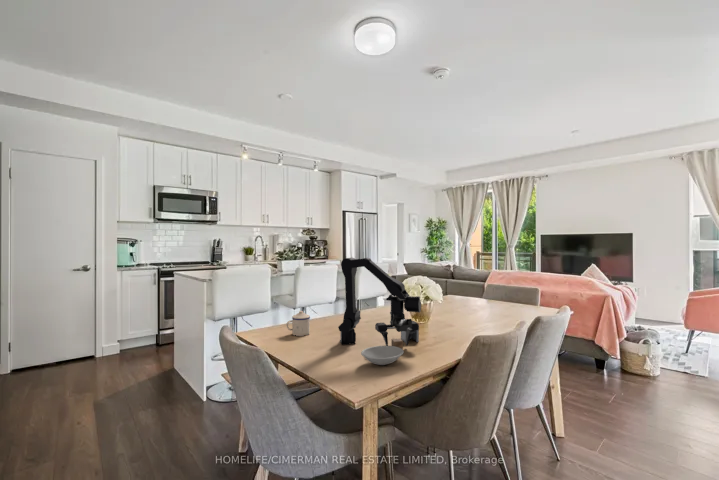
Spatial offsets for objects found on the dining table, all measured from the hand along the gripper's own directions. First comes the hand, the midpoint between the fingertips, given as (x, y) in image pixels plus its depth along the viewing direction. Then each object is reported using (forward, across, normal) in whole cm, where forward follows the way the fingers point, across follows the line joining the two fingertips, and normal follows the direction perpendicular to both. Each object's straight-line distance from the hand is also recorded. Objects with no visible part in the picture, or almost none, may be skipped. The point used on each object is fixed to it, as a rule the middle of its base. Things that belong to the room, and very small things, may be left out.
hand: (397, 345), depth 153 cm
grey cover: (+1, +10, +11) cm, 15 cm away
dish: (+2, -12, -17) cm, 21 cm away
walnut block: (+1, 0, 0) cm, 1 cm away
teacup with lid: (+2, -42, +32) cm, 53 cm away
